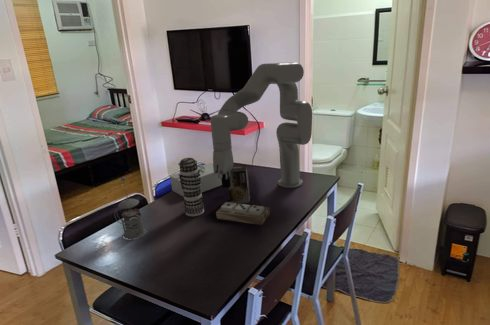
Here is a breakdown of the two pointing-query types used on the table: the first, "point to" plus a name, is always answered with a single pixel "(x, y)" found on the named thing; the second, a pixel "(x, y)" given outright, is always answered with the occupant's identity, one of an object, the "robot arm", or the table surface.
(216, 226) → the table surface
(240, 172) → the coffee box
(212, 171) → the tissue box
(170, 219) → the table surface
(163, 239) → the table surface
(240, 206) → the tile three
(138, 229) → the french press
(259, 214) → the tile two
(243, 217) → the wooden dot tile board
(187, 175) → the decorative candle
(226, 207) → the tile one
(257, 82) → the robot arm
